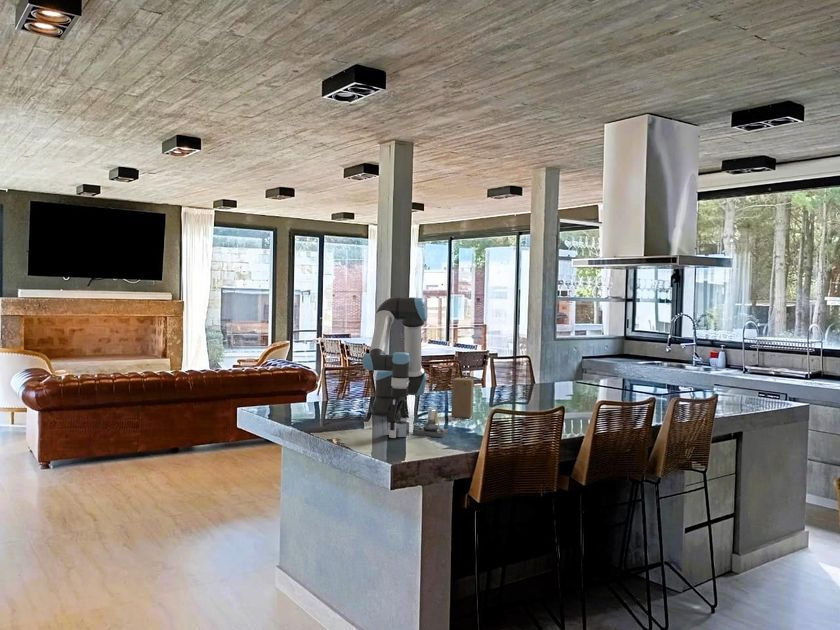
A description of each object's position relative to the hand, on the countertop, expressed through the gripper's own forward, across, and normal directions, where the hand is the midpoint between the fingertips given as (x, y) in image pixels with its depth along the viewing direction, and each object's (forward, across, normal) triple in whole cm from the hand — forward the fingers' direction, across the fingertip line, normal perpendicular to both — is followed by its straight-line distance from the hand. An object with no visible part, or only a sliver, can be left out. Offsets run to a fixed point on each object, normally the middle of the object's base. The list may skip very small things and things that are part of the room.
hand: (397, 435), depth 314 cm
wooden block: (0, +66, -12) cm, 67 cm away
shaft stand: (0, +11, -12) cm, 16 cm away
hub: (0, 0, 0) cm, 0 cm away
